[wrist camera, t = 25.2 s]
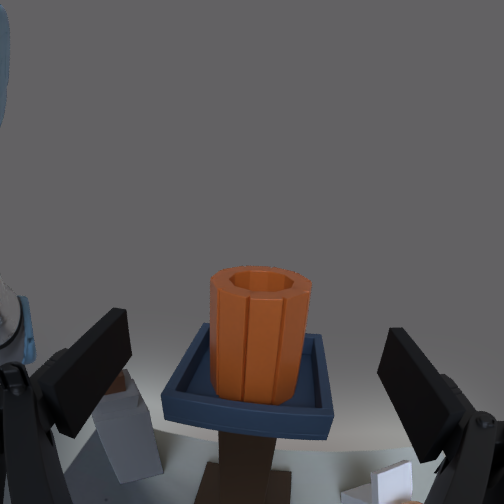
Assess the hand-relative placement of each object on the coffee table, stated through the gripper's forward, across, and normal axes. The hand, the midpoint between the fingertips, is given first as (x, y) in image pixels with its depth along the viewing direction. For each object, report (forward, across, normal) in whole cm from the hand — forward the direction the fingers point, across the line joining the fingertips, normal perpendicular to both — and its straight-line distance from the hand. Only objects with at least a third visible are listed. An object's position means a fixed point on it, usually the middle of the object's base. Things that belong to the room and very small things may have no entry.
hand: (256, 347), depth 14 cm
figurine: (+3, +16, -31) cm, 35 cm away
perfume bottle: (+12, -16, -31) cm, 37 cm away
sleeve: (+8, 0, -8) cm, 12 cm away
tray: (+8, 0, -31) cm, 32 cm away
